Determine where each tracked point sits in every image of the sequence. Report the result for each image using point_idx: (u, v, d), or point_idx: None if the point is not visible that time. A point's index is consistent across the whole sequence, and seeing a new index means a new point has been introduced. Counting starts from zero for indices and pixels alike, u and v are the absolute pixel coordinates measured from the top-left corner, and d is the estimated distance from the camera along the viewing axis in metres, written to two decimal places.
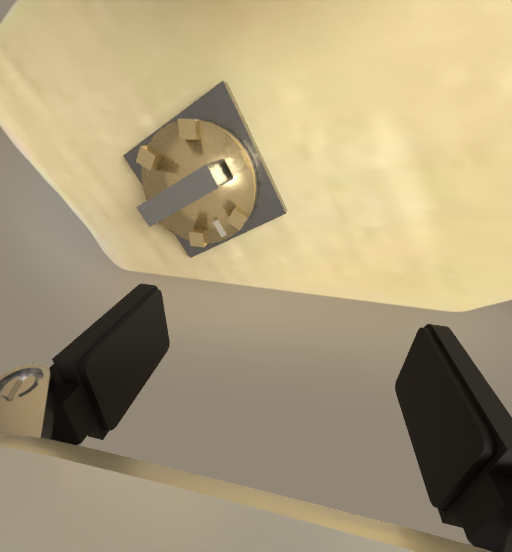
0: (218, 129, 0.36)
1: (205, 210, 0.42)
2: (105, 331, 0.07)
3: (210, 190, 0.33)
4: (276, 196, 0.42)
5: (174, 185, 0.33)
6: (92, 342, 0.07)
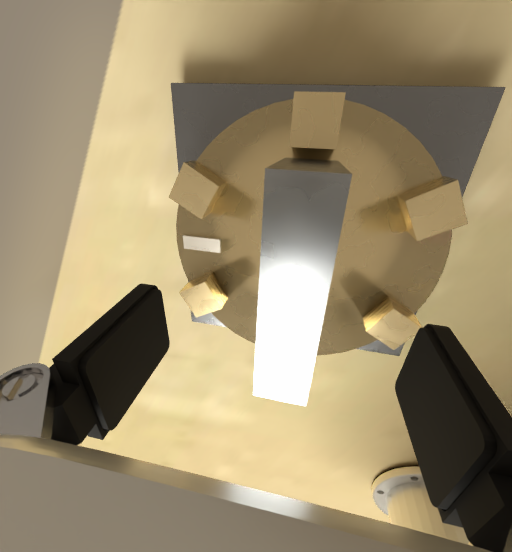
0: (351, 347, 0.21)
1: (249, 241, 0.18)
2: (105, 331, 0.07)
3: (257, 381, 0.14)
4: (220, 324, 0.26)
5: (317, 331, 0.12)
6: (92, 342, 0.07)
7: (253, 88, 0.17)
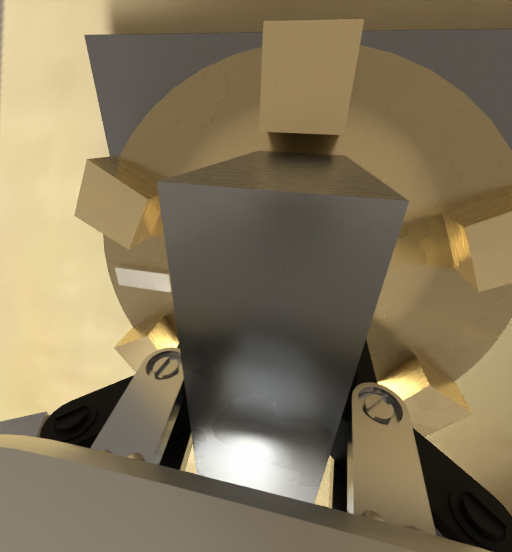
0: None
1: None
2: None
3: None
4: None
5: (309, 493, 0.06)
6: None
7: (210, 40, 0.11)
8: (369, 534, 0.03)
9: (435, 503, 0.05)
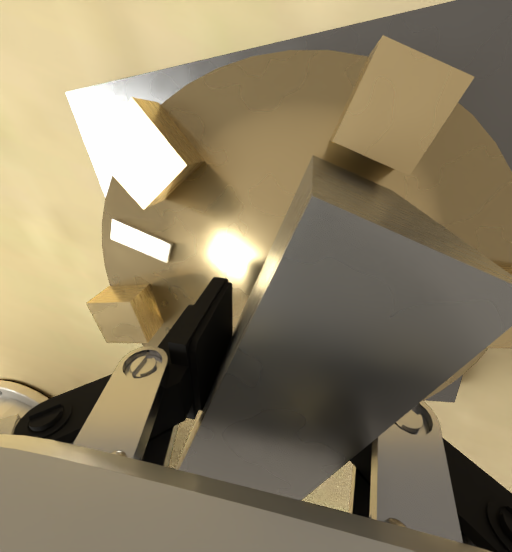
0: None
1: (215, 260, 0.12)
2: (201, 318, 0.08)
3: None
4: (94, 160, 0.14)
5: None
6: (196, 327, 0.08)
7: None
8: (369, 534, 0.03)
9: (471, 513, 0.05)
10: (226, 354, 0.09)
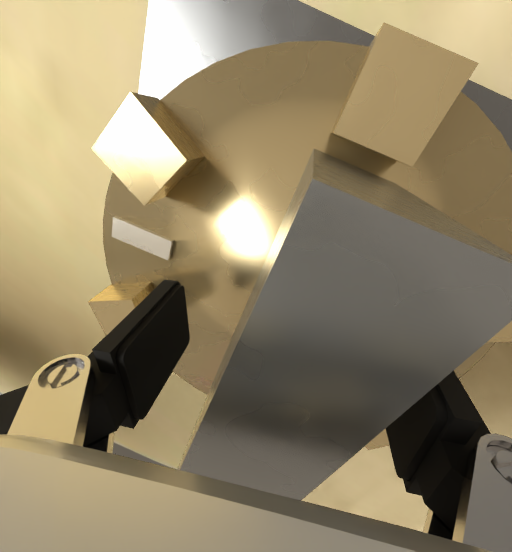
0: None
1: (217, 257, 0.12)
2: (137, 324, 0.08)
3: None
4: (148, 41, 0.11)
5: (293, 497, 0.06)
6: (127, 334, 0.07)
7: None
8: (369, 534, 0.03)
9: None
10: (228, 350, 0.09)
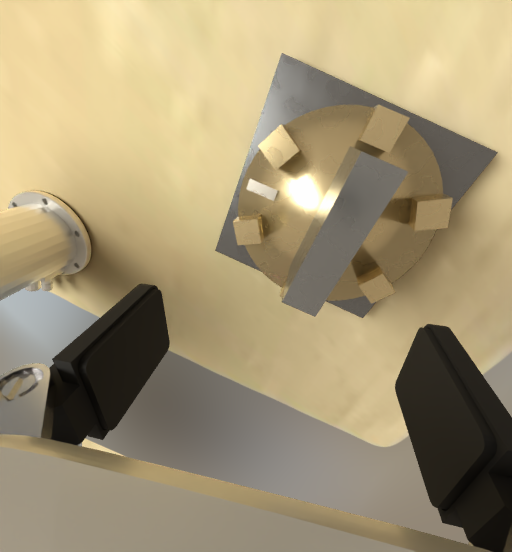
0: (340, 298, 0.28)
1: (298, 198, 0.24)
2: (105, 331, 0.07)
3: (289, 292, 0.21)
4: (269, 95, 0.24)
5: (345, 264, 0.19)
6: (92, 342, 0.07)
7: None
8: (369, 534, 0.03)
9: None
10: (314, 228, 0.21)
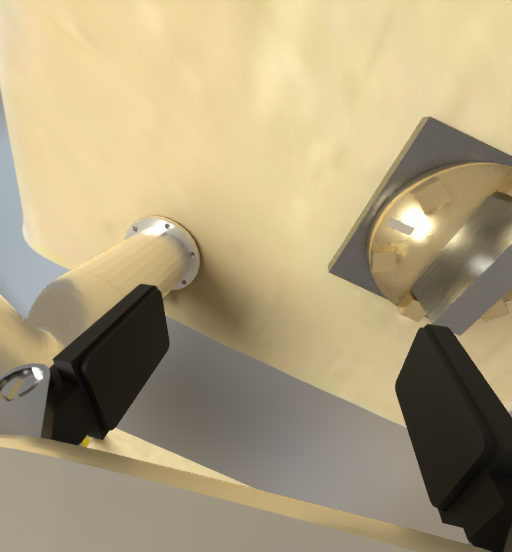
0: None
1: (432, 234, 0.29)
2: (105, 331, 0.07)
3: (442, 315, 0.26)
4: (411, 148, 0.28)
5: (500, 295, 0.24)
6: (92, 342, 0.07)
7: None
8: (369, 534, 0.03)
9: None
10: (461, 263, 0.26)
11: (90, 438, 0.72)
